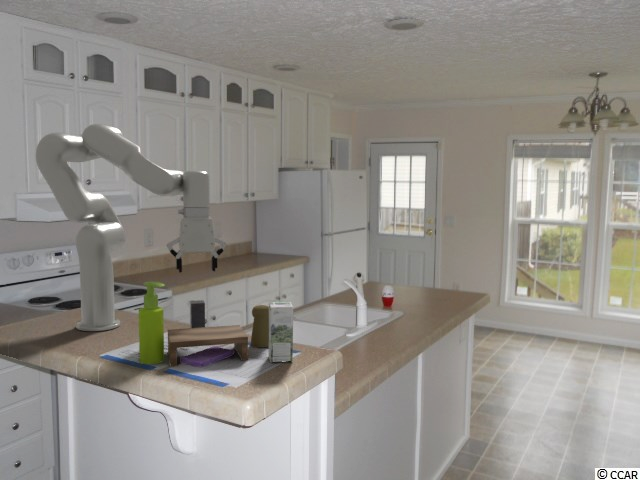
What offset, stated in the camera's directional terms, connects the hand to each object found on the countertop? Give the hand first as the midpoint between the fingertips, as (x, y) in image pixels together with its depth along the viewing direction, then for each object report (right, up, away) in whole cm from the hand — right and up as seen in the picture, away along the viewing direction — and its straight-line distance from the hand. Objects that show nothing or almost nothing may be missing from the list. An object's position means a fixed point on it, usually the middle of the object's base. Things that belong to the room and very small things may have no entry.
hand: (197, 271), depth 168 cm
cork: (+20, -20, -11) cm, 30 cm away
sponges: (+8, -22, -23) cm, 32 cm away
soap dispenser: (-5, -21, -25) cm, 34 cm away
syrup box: (+26, -21, -23) cm, 41 cm away
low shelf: (+7, -21, -21) cm, 30 cm away
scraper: (+2, -19, -4) cm, 19 cm away
